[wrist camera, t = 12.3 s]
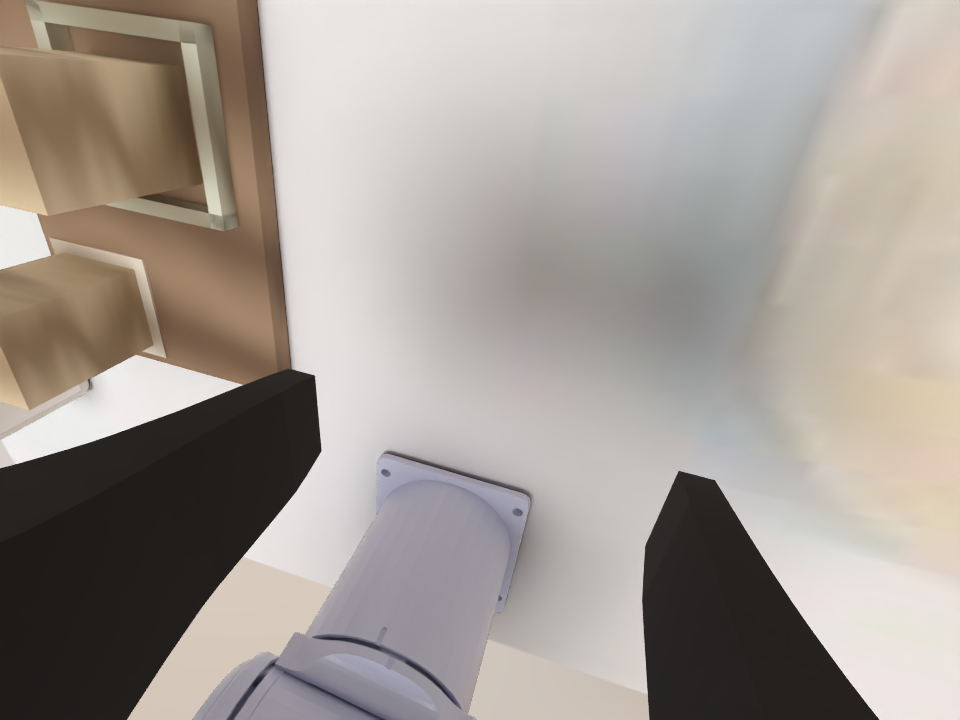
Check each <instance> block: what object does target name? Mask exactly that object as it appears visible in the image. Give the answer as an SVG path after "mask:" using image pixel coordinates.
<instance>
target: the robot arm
mask: <svg viewBox="0 0 960 720" xmlns="http://www.w3.org/2000/svg"><path fill="white" fill-rule="evenodd" d="M320 453H321V440H320V429H319V418H318V406H317V395H316V383H315V376H314V375H311V374H307V373H303V372H299V371H295V370H292V369H286V370H283V371H280V372H277V373H274V374H271V375H268V376H266V377H263V378H260V379H258V380H255V381H253V382H250V383H248V384H245V385H243V386H240V387H238V388H235V389H233V390H230V391H228V392H225V393H223V394H220V395H218V396H215V397H212V398H210V399H207V400H205V401H202V402H200V403H197V404H195V405H192V406H190V407H187V408H185V409H182V410H180V411H177V412H174V413H172V414H169V415H166V416H164V417H161V418H158V419H155V420H152V421H150V422H147V423H144V424H141V425H139V426H136V427H133V428H130V429H128V430H125V431H122V432H119V433H117V434H114V435H111V436H108V437H105V438H102V439H99V440H96V441H93V442H90V443H87V444H84V445H80V446H77V447H74V448H71V449H68V450H64V451H61V452H57V453H54V454H50V455H47V456H44V457H40V458H37V459H33V460H30V461H26V462H23V463H19V464H15V465H12V466H8V467H4V468H0V720H127V719H128V717H129V715H130V714H131V712H132V711H133V709H134V708H135V706H136V705H137V703H138V702H139V700H140V699H141V697H142V696H143V694H144V692H145V691H146V689H147V688H148V686H149V685H150V683H151V682H152V680H153V679H154V677H155V676H156V674H157V673H158V671H159V669H160V668H161V666H162V665H163V663H164V662H165V660H166V659H167V657H168V656H169V654H170V653H171V651H172V650H173V648H174V647H175V646H176V644H177V643H178V641H179V640H180V638H181V637H182V635H183V634H184V633H185V631H186V630H187V628H188V627H189V625H190V624H191V622H192V621H193V619H194V618H195V617H196V615H197V614H198V612H199V611H200V609H201V608H202V607H203V605H204V604H205V602H206V601H207V600H208V599H209V597H210V596H211V595H212V593H213V592H214V591H215V590H216V588H217V587H218V586H219V584H220V583H221V582H222V581H223V580H224V579H225V577H226V576H227V575H228V574H229V572H230V571H231V570H232V569H233V568H234V566H235V565H236V564H237V563H238V562H239V560H240V559H241V558H242V557H243V556H244V554H245V553H246V552H247V551H248V550H249V548H250V547H251V546H252V545H253V544H254V542H255V541H256V540H257V539H258V538H259V536H260V535H261V534H262V533H263V532H264V530H265V529H266V528H267V527H268V526H269V524H270V523H271V522H272V521H273V520H274V518H275V517H276V516H277V515H278V513H279V512H280V511H281V510H282V509H283V507H284V506H285V505H286V504H287V502H288V501H289V500H290V499H291V497H292V496H293V495H294V494H295V492H296V491H297V489H298V488H299V486H300V485H301V483H302V482H303V480H304V479H305V477H306V476H307V474H308V472H309V471H310V469H311V468H312V466H313V464H314V463H315V461H316V459H317V458H318V456H319V454H320ZM386 469H387V470H388V471H387V470H386ZM529 507H530V498H529V497H528V496H527V495H526V494H523V493H521V492H517V491H514V490H510V489H507V488H503V487H500V486H497V485H493V484H490V483H486V482H483V481H479V480H476V479H473V478H469V477H466V476H462V475H459V474H456V473H452V472H449V471H445V470H442V469H438V468H435V467H432V466H428V465H425V464H421V463H418V462H415V461H411V460H408V459H404V458H401V457H397V456H394V455H391V454H383V455H382V456H381V457H380V458H379V460H378V462H377V516H376V517H375V519H374V521H373V522H372V524H371V526H370V527H369V529H368V531H367V532H366V534H365V536H364V537H363V539H362V541H361V542H360V544H359V546H358V547H357V549H356V551H355V552H354V554H353V556H352V557H351V559H350V561H349V562H348V564H347V566H346V567H345V569H344V571H343V572H342V574H341V576H340V577H339V579H338V581H337V582H336V584H335V586H334V587H333V589H332V591H331V592H330V594H329V596H328V597H327V599H326V601H325V602H324V604H323V606H322V607H321V609H320V611H319V612H318V614H317V616H316V617H315V619H314V621H313V622H312V624H311V626H310V627H309V629H308V631H307V632H306V634H305V635H303V634H301V633H298V632H295V633H294V634H293V636H292V637H291V639H290V641H289V642H288V644H287V646H286V647H285V649H284V650H283V652H282V654H281V655H280V657H278V656H276V655H274V654H272V653H270V652H263V653H260V654H259V655H257V656H255V657H254V658H253V659H250V660H248V661H246V662H244V663H242V664H240V665H238V666H237V667H236V668H234V669H233V670H232V671H231V672H230V673H229V674H228V675H227V676H226V677H225V678H224V679H223V680H222V681H221V683H220V684H219V685H218V686H217V687H216V688H215V690H214V691H213V692H212V693H211V695H210V696H209V697H208V699H207V700H206V701H205V703H204V704H203V705H202V707H201V708H200V709H199V711H198V712H197V713H196V715H195V716H194V718H193V719H192V720H476V718H474V717H473V716H471V715H469V714H468V712H469V708H470V704H471V700H472V697H473V692H474V689H475V685H476V681H477V677H478V674H479V670H480V666H481V662H482V658H483V654H484V650H485V646H486V643H487V639H488V635H489V631H490V627H491V624H492V620H493V616H494V613H501V612H503V610H504V606H505V602H506V598H507V595H508V591H509V587H510V583H511V579H512V575H513V571H514V567H515V563H516V559H517V555H518V551H519V547H520V543H521V539H522V535H523V531H524V527H525V523H526V519H527V515H528V511H529ZM515 508H517V509H520V510H521V511H520V510H517V509H515ZM642 604H643V623H644V640H645V657H646V672H647V688H648V703H649V718H650V720H879V719H878V717H877V716H876V715H875V714H874V712H873V711H872V710H871V709H870V708H869V706H868V705H867V704H866V702H865V701H864V700H863V699H862V697H861V696H860V695H859V693H858V692H857V691H856V689H855V688H854V687H853V686H852V684H851V683H850V682H849V680H848V679H847V678H846V676H845V675H844V674H843V672H842V671H841V670H840V668H839V667H838V666H837V664H836V663H835V661H834V660H833V659H832V657H831V656H830V655H829V653H828V652H827V650H826V649H825V648H824V646H823V645H822V644H821V642H820V641H819V640H818V638H817V637H816V635H815V634H814V633H813V631H812V630H811V629H810V627H809V626H808V624H807V623H806V621H805V620H804V619H803V617H802V616H801V614H800V613H799V611H798V610H797V608H796V607H795V606H794V604H793V603H792V601H791V600H790V598H789V597H788V595H787V594H786V592H785V591H784V589H783V588H782V586H781V585H780V583H779V582H778V580H777V579H776V577H775V576H774V574H773V573H772V571H771V570H770V568H769V566H768V565H767V563H766V562H765V560H764V559H763V557H762V556H761V554H760V552H759V551H758V549H757V548H756V546H755V544H754V543H753V541H752V540H751V538H750V536H749V535H748V533H747V532H746V530H745V528H744V527H743V525H742V524H741V522H740V520H739V519H738V517H737V515H736V514H735V512H734V511H733V509H732V507H731V506H730V504H729V502H728V501H727V499H726V498H725V496H724V494H723V493H722V491H721V489H720V488H719V486H718V485H717V483H716V481H715V480H712V479H708V478H704V477H700V476H696V475H692V474H689V473H685V472H681V471H679V472H678V474H677V476H676V478H675V481H674V483H673V485H672V487H671V490H670V492H669V494H668V496H667V499H666V501H665V503H664V505H663V508H662V510H661V512H660V514H659V516H658V519H657V521H656V523H655V525H654V528H653V530H652V532H651V534H650V537H649V539H648V541H647V543H646V546H645V560H644V575H643V596H642Z"/></svg>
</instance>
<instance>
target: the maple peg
mask: <svg viewBox="0 0 960 720" xmlns="http://www.w3.org/2000/svg"><path fill="white" fill-rule="evenodd" d="M199 184H203V182H202V176H201V170H200V164H199V158H198V153H197V147H196V141H195V135H194V129H193V124H192V118H191V112H190V106H189V100H188V94H187V89H186V83H185V77H184V71H183V66H176V65H169V64H163V63H156V62H149V61H143V60H136V59H129V58H122V57H116V56H109V55H102V54H96V53H87V52H75V51H62V50H49V49H37V48H24V47H11V46H0V205H2V206H6V207H11V208H15V209H19V210H24V211H28V212H33V213H37V214H42V215H46V216H50V215H55V214H60V213H64V212H69V211H74V210H79V209H84V208H88V207H93V206H98V205H103V204H108V203H113V202H117V201H122V200H127V199H132V198H137V197H141V196H146V195H151V194H156V193H161V192H166V191H170V190H175V189H180V188H185V187H190V186H194V185H199Z"/></svg>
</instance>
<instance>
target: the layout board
mask: <svg viewBox="0 0 960 720" xmlns="http://www.w3.org/2000/svg"><path fill="white" fill-rule="evenodd" d="M0 46H11V47H24V48H37V49H49V50H62V51H75V52H87V53H96V54H102V55H109V56H116V57H122V58H129V59H136V60H143V61H149V62H156V63H163V64H169V65H176V66H183V71H184V77H185V83H186V89H187V94H188V100H189V106H190V112H191V118H192V124H193V129H194V135H195V141H196V147H197V153H198V158H199V164H200V170H201V176H202V182H203V184H199V185H194V186H190V187H185V188H180V189H175V190H170V191H166V192H161V193H156V194H151V195H146V196H141V197H137V198H132V199H127V200H122V201H117V202H113V203H108V204H103V205H98V206H93V207H88V208H84V209H79V210H74V211H69V212H64V213H60V214H55V215H50V216H46V215H42V214H37V215H38V218H39V221H40V224H41V227H42V230H43V233H44V235H45V238H46V241H47V244H48V247H49V250H50V253H51V256H49V257H45V258H41V259H38V260H34V261H31V262H27V263H23V264H20V265H16V266H13V267H9V268H5V269H2V270H0V401H1V402H4V403H8V404H11V405H14V406H17V407H20V408H23V409H26V410H31V409H33V408H35V407H37V406H39V405H41V404H43V403H45V402H47V401H48V400H50V399H52V398H54V397H56V396H58V395H60V394H62V393H64V392H66V391H67V390H69V389H71V388H73V387H75V386H77V385H79V384H81V383H83V382H85V381H87V380H88V379H90V378H92V377H94V376H96V375H98V374H100V373H102V372H104V371H106V370H107V369H109V368H111V367H113V366H115V365H117V364H119V363H121V362H123V361H125V360H126V359H128V358H130V357H132V356H134V355H140V356H143V357H147V358H150V359H154V360H157V361H161V362H164V363H168V364H172V365H175V366H179V367H182V368H186V369H189V370H193V371H196V372H200V373H203V374H207V375H211V376H214V377H218V378H221V379H225V380H228V381H232V382H235V383H239V384H243V385H245V384H248V383H250V382H253V381H255V380H258V379H260V378H263V377H266V376H268V375H271V374H274V373H277V372H280V371H283V370H286V369H291V364H290V353H289V343H288V332H287V321H286V311H285V300H284V289H283V279H282V268H281V257H280V247H279V236H278V225H277V215H276V204H275V193H274V182H273V172H272V161H271V150H270V140H269V129H268V118H267V108H266V97H265V86H264V76H263V65H262V54H261V44H260V33H259V22H258V12H257V1H256V0H0Z"/></svg>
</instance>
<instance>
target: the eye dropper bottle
mask: <svg viewBox="0 0 960 720" xmlns="http://www.w3.org/2000/svg"><path fill="white" fill-rule="evenodd" d="M88 388H89V383H88V380H87V381H85V382H83V383H81V384H79V385H77V386H75V387H73V388H71V389H69V390H67V391H66V392H64V393H62V394H60V395H58V396H56V397H54V398H52V399H50V400H48V401H47V402H45V403H43V404H41V405H39V406H37V407H35V408H33V409H31V410H26V409H23V408H20V407H17V406H14V405H11V404H8V403H4V402H1V401H0V440H1V439H3V438H5V437H7V436H9V435H11V434H13V433H14V432H16V431H18V430H20V429H22V428H24V427H25V426H27V425H29V424H31V423H33V422H35V421H36V420H38V419H40V418H42V417H44V416H45V415H47V414H49V413H51V412H53V411H55V410H56V409H58V408H60V407H62V406H64V405H66V404H67V403H69V402H71V401H73V400H75V399H76V398H78V397H80V396H82V395H83V394H85V393H86V391H87V390H88Z"/></svg>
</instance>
